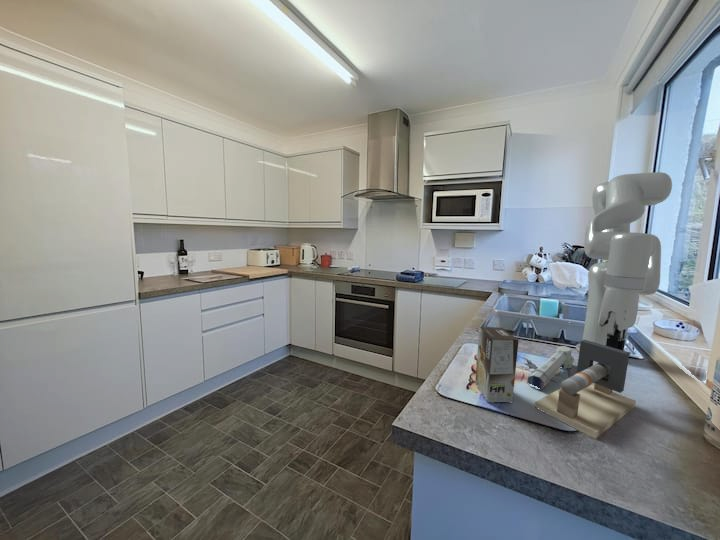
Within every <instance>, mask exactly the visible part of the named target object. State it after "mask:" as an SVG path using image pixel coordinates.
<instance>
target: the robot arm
mask: <svg viewBox="0 0 720 540" xmlns="http://www.w3.org/2000/svg"><path fill="white" fill-rule="evenodd" d="M672 189H673V181H672V178H671V176H670V175H669V174H667V173H666V172H662V171H659V172H657V171H655V172H642V173H639V172H638V173H627V174H626V173H624V174H621V175H620V174H619V175H617V176H615V177H613V178H611V179H610V180H609V181H605V182H602V183H599V184H598V185H596V186H595V187H594V189H593V190H592V191H593V192H592V196H591V197H592V198H591V199H592V201H591V202H592V209H593V212H594V214H595V216H593V217H592V219H591V220H590V221H589V222H588V224H587V226H586V230H585V233H584V253H585V255H586V256H587V258H590V259H594V260H602V261H603V260H604V261H605V262H604V261H603V262H596V263H594V264H592V265H591V266H590V267H589V269H588V273H587V278H588V281H587V282H588V294H587V296H588V297H587V305H586V313H585V320H584V327H583V328H584V329H583V334H582V340H588V341H591V342H595V343H598V344H602V345H605V346H609V347H612V348H616V349H619V350H623V351H625V345H626V338H627V334H628V333H627V332H628V329H629V328H631V327H634V325H635V324H636V321H637V317H638V316H637V315H638V310H639V309H638V308H639V303H640V302H639V301H640V296H650V295H654V294H656V293H657V292H658V290H659V287H660V284H661V267H662V266H661V264H662V259H661V258H662V245H661V241H660V238H659V237H658V236H657V235H655V234H651V233H645V232H631V224H632V223H634V222H637V221H638V220H640V218H642V217H643V215H644V214H645V208H646V207H648V206H655V205H658V204H661V203H663V202H664V201H666V200H667V199H668V197H670V194H671V193H672ZM575 349H576V351H577V352H579V351H580V343H577V344H576V346H575Z"/></svg>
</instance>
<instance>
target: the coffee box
mask: <svg viewBox="0 0 720 540" xmlns="http://www.w3.org/2000/svg"><path fill="white" fill-rule="evenodd" d="M478 329H479V331H478V343H477V357H476V369H475V381H474V382H475V383H476V384H475V383H474V384H475V386H476V385H477V386H476V388H477V389H478V388H479V389H478V391H479V392H480V391H481V392H480V394H481V395H482V394H483V395H482V396H483V398H484V397H485V398H484V400H485V401H486V400H487V401H488V402H487V401H486V402H487V403H494V402H512V403H513V401H514V400H513V398H514V390H515V389H514V388H515V381H516V380H515V379H516V370H517V361H518V360H517V359H518V349H519V339H518V338H516V337H515V336H514V335H513V334H511V333H510V332H509V331H507V330H506V329H505V328H503V327H498V326H495V327H493V326H492V327H491V326H487V327H485V326H484V327H483V326H481V327H479V328H478Z"/></svg>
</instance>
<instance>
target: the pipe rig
mask: <svg viewBox="0 0 720 540" xmlns="http://www.w3.org/2000/svg"><path fill="white" fill-rule="evenodd" d="M609 372H610V366H608V365H605V364H602V363H599V362H596V364H593V366H591V367H589V368H587V369H585V370H583V371H581V372H578V373H577V372H576V373H574V375H572V376H570V377H567V378H566V379H563V380H562V381H561V382H560V388H559V389H557V390H555V391H553V392H550V393H549V394H547V395H545V396H543V397H542V398H540V399H537V401H535V402H534V407H535V406H536V407H537V408H539V409H540V410H542V411H544V412H546V413H548V414H550V415H551V416H550V415H549V416H550V417H552V416H553V417H552V418H554V417H555V418H554V419H556V418H557V419H556V420H558V419H559V420H558V421H559V422H561V421H562V422H561V423H563V422H565V423H566V424H565V423H564V424H565V425H567V424H568V425H567V426H569V425H570V426H569V427H571V426H572V427H571V428H573V427H574V428H573V429H575V428H576V429H575V430H577V431H579V432H581V433H583V434H585V435H587V436H589V437H591V438H593V439H595V440H596V439H598V438H599V437H600V436H601V435H603V434H604V433H605V432H606V431H607V430H608V429H610V428H611V427H612V426H613V425H614V424H616V423H617V422H618V421H620V420H621V419H622V418H624V417H625V416H626V415H627V414H628V413H630V411H632V410H633V409H634V408H635V407H636V404H637V403H636V402H637V400H635V399H632V398H630V397H627V396H624V395H622V394H621V393H618V392H615V391H613V390H611V389H608V388H606V387H603V386H600V385H598V384H595V383H594V382H596V381H597V380H599V379H601V378H603V377H604V378H607V379H608V378H609ZM540 410H539V411H540ZM542 411H541V412H542ZM544 412H543V413H544ZM546 413H545V414H546ZM548 414H547V415H548Z"/></svg>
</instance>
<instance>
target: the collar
mask: <svg viewBox="0 0 720 540" xmlns="http://www.w3.org/2000/svg"><path fill="white" fill-rule="evenodd" d="M579 344H580V351H578V352H579V353H578V359H577V367H576V373H578V372H581V371H583V370H585V369H587V368H589V367H591V366H593V365H594V362H596V363H602V364H605V365H608V366H610V372H609V378H608V379H607V378H604V377H603V378H601V379H599V380H597V381H596V382H594V383H593V384H594V385H595V384H598V385H600V386H603V387H606V388H608V389H611V390H612V391H613V392H615V393H618V394H621V393H623V392H624V389H625V385H626V378H627V371H628V366H629V360H630V355H631V354H630V353H631V352H629V351H627V350H626V351H625V350H624V351H623V350H619V349H616V348H612V347H609V346H605V345H602V344H598V343H595V342H591V341H588V340H583V339H582V340H580V343H579Z"/></svg>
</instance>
